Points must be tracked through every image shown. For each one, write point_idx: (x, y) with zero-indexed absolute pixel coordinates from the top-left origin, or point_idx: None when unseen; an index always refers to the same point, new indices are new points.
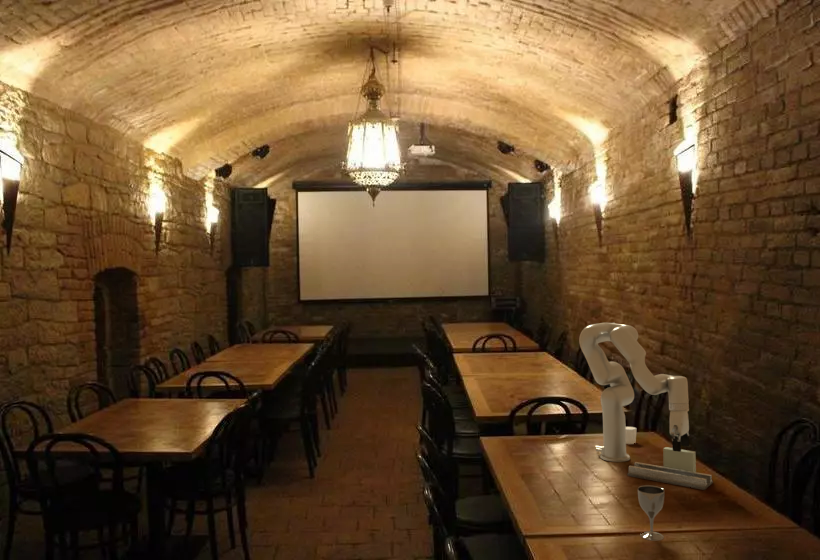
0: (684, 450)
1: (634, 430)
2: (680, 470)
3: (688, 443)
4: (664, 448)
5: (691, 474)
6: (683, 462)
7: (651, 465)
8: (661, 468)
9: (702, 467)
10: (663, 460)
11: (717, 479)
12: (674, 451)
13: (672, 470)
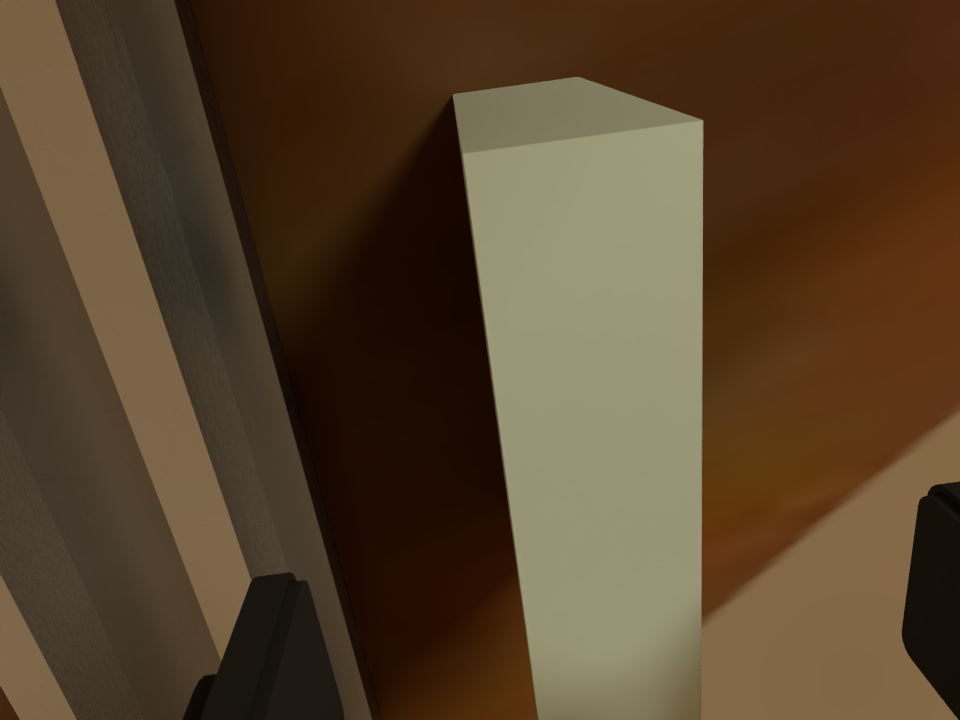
0: (647, 612)
1: None
2: (196, 554)
3: (957, 695)
4: (505, 176)
5: None
6: (506, 488)
7: (10, 53)
8: (82, 269)
9: (910, 444)
10: (457, 112)
11: (536, 713)
12: (502, 448)
13: (150, 444)
